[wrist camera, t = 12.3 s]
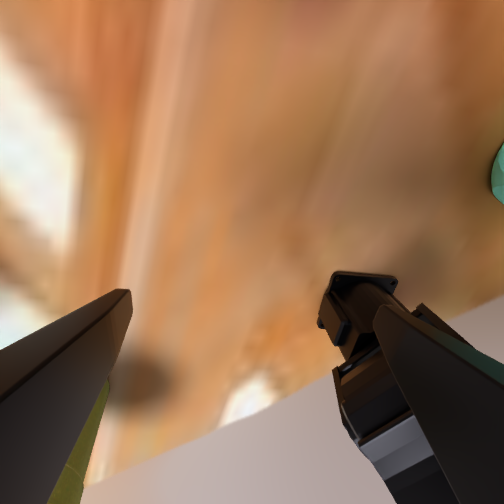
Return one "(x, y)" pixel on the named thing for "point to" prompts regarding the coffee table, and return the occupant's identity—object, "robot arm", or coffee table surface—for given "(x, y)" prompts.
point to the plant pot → (79, 457)
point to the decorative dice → (498, 176)
